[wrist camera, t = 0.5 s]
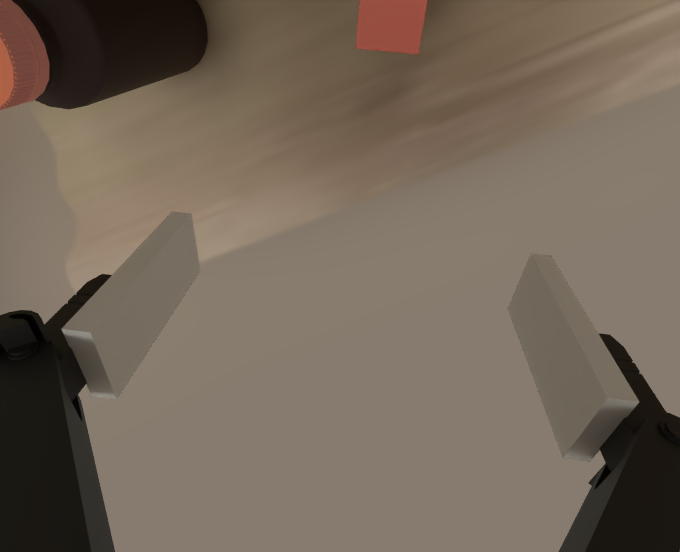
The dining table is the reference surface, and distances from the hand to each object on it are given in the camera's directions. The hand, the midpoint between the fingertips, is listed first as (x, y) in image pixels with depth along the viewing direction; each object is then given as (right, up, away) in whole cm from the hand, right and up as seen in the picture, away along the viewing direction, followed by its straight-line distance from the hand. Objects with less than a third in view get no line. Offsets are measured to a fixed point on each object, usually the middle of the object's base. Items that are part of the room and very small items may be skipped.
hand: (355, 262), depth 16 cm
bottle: (-15, +20, +18) cm, 31 cm away
